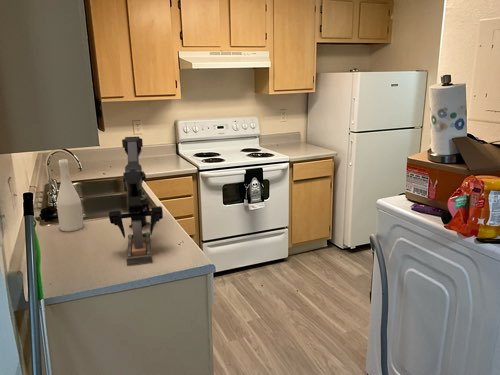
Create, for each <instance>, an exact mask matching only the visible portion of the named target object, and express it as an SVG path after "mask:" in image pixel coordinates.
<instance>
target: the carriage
mask: <svg viewBox="0 0 500 375" xmlns="http://www.w3.org/2000/svg"><path fill="white" fill-rule="evenodd" d="M131 224H132V227H131V228H132V234H133V240H134V244H132V257H136V256H144V255H146V243H143V236H142V233H143V228H142V224H141V220H135V221H132V223H131Z"/></svg>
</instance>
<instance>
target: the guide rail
mask: <svg viewBox="0 0 500 375" xmlns="http://www.w3.org/2000/svg"><path fill="white" fill-rule="evenodd" d="M142 236H143V243H146V255H144V256H136V257H132V244H134V240H133V233H131V234H130V233H129V234H128V235H127V254H126V258H125V259H126V266H136V265H142V264H150V263H153V258H152V257H153V256H152V244H151V243H152V242H151V234H150V231H149V232H142Z"/></svg>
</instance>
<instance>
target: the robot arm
mask: <svg viewBox="0 0 500 375" xmlns="http://www.w3.org/2000/svg"><path fill="white" fill-rule="evenodd" d="M121 143H122V149H124V153H125V155H127V164H126V166H124V172H123V174H122V175H123V176H122V179H123V180H122V181H123V183H125V187H126V195H127V196H126V197H127V199H126V206H127V207H126V208H127V209H126V210H127V212H122V211H121V209H115V210H110V211H109V212H108V218H109V222H110V224H111V225H112V224H113V225H114V226H117V227H118V228H119V230H120V232H121V234H122V237H123V238H124V239H126V233H125V228H124V224H123V219H129V218H130V222H131V223H130V225H128V227H129V228H132V221H135V220H141V224H142V229H143V228H144V227H146V226H148V225H150V227H149V233H150V236H152V235H153V231H154V229H155V226H156V224H157V222H160V220H162V219H163V218H164V217H163V216H164V214H163V213H164V211H163V207H162V206H161V205H159V206H151V208H150V201H148V193H147V194H145V193H144V189H143V183H144V181H145V180H146V179H147V177H146V175H147V174H146V173H145V171H143V168H142V165H141V164H140V161H139V160H140V159H139V157H140V155H141V153H142V151H143V150H142V148H143V146H144V145H143V143H144V142H143V138H141V137H140V136H125V137H124V138H123V139H121ZM147 217H150V222H147Z"/></svg>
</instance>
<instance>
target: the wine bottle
mask: <svg viewBox="0 0 500 375" xmlns="http://www.w3.org/2000/svg"><path fill="white" fill-rule="evenodd" d="M58 166H59V172H60V174H59V175H60V184H59V185H60V186H59V189H58V194H57V198H56V209H57V217H58V218H57V219H58V224H59V229H60V230H61V231H62V232H75V231H79V230H81V229H82V228H84V225H85V224H84V216H83V209H82V200H81V198H80V196H79V194H78V191H77V190H76V188H75V187H74V185H73V182H72V180H71V176H70V170H69V169H70V168H69V161H68V159H65V158H64V159H63V158H62V159H59V160H58Z"/></svg>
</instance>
